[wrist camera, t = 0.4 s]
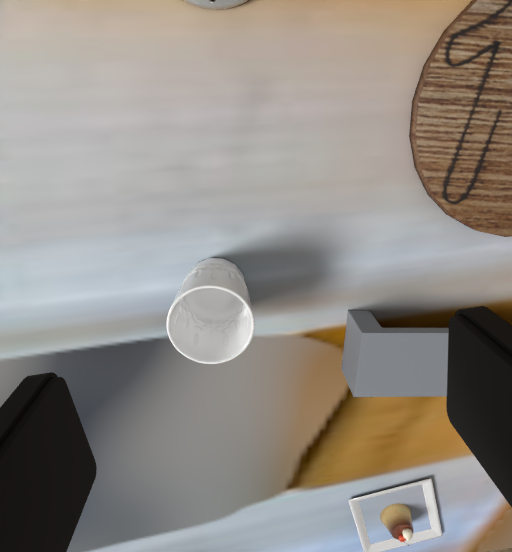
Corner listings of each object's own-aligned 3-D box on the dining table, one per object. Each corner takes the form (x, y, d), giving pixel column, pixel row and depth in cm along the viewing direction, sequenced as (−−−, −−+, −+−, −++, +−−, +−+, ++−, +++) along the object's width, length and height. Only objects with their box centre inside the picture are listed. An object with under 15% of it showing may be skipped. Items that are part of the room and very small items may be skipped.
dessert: (362, 548, 63) (372, 581, 58) (346, 493, 59) (355, 524, 54) (439, 529, 62) (455, 560, 58) (428, 471, 58) (444, 501, 54)
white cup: (252, 254, 45) (257, 288, 36) (247, 318, 48) (251, 365, 38) (180, 250, 44) (166, 283, 35) (179, 315, 47) (166, 362, 38)
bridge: (348, 310, 48) (362, 333, 43) (614, 311, 50) (659, 333, 44) (341, 368, 51) (353, 396, 45) (594, 367, 52) (634, 394, 47)
